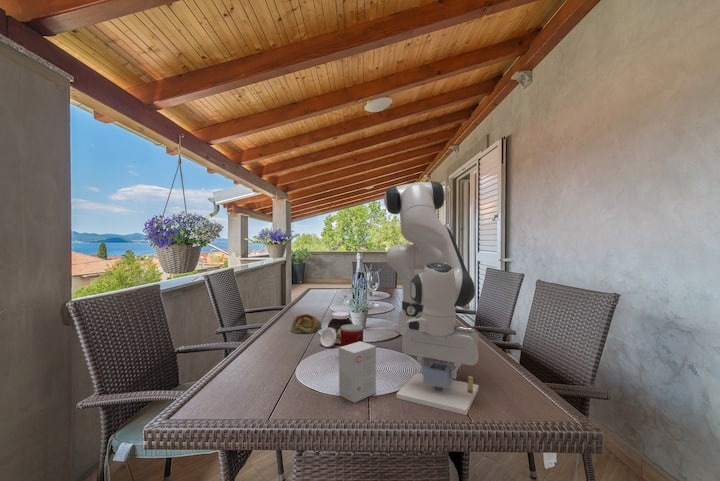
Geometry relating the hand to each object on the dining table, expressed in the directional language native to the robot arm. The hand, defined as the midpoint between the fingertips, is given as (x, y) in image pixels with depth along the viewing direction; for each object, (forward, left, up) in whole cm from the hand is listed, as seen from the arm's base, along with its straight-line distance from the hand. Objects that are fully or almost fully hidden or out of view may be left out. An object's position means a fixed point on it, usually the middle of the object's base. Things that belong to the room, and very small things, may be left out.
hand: (438, 375), depth 94 cm
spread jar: (-23, -47, -5) cm, 53 cm away
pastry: (-33, -69, -6) cm, 77 cm away
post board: (0, 0, -5) cm, 5 cm away
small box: (+11, -19, -5) cm, 23 cm away
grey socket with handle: (-3, 0, -2) cm, 3 cm away
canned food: (-12, -34, -5) cm, 36 cm away
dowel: (-3, +8, -4) cm, 9 cm away
